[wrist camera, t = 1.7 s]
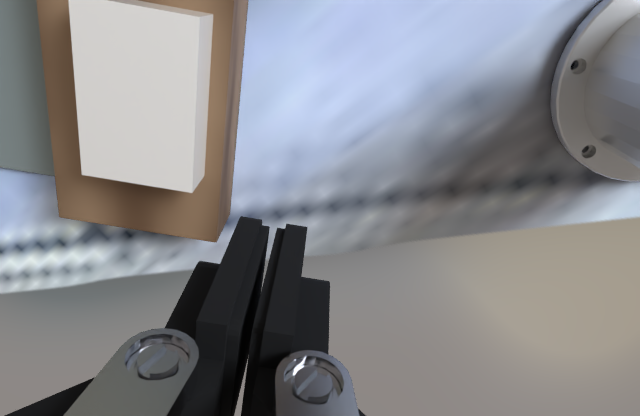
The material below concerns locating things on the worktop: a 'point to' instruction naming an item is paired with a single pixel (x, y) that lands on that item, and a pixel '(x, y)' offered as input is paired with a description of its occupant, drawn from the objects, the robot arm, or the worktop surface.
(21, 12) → the mat
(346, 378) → the robot arm
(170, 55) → the tile
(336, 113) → the worktop surface
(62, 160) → the board
